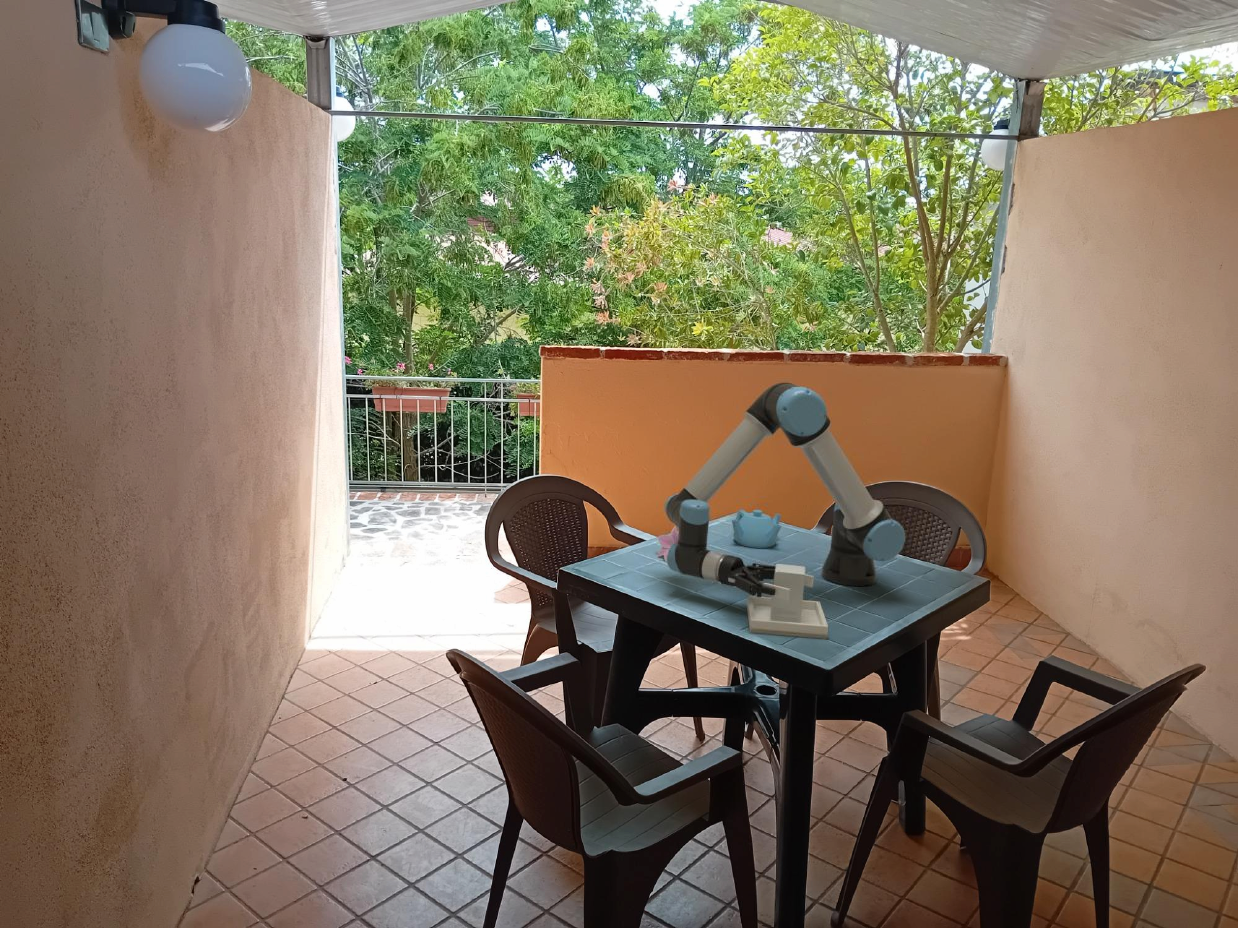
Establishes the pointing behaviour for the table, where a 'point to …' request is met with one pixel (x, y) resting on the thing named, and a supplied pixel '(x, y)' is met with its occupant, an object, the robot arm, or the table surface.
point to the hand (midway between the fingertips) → (801, 588)
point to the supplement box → (794, 581)
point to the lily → (667, 542)
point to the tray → (809, 624)
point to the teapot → (756, 529)
